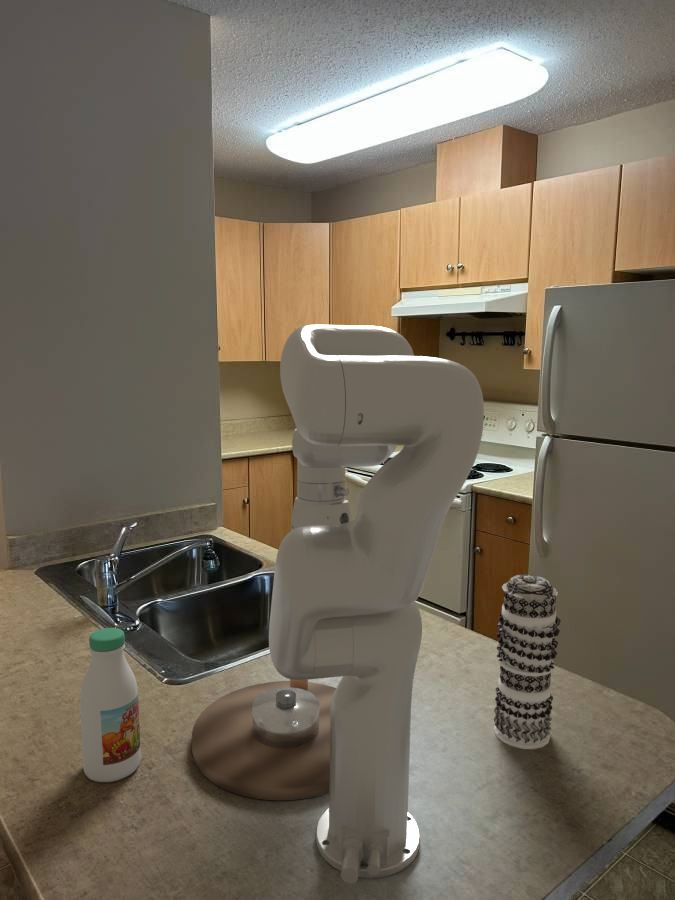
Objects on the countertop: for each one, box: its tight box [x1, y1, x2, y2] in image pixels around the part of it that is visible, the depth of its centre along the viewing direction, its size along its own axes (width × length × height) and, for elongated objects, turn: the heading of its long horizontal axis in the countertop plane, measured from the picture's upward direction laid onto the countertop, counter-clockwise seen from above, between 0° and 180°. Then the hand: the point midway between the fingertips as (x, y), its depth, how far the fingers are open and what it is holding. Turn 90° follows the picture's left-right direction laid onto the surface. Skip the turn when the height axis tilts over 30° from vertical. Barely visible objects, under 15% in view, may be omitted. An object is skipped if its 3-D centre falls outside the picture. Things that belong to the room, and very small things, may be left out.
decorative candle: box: [493, 574, 562, 750], centre depth 102 cm, size 9×9×25 cm
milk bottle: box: [79, 627, 142, 783], centre depth 93 cm, size 8×8×20 cm
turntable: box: [191, 679, 337, 801], centre depth 101 cm, size 28×28×6 cm
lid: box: [252, 687, 319, 748], centre depth 100 cm, size 10×10×6 cm
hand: (320, 601), depth 109 cm, fingers closed
